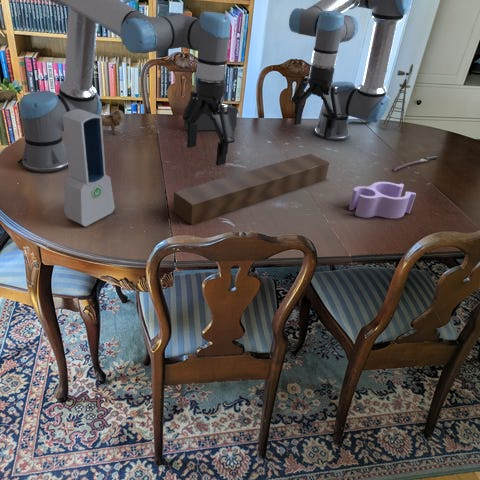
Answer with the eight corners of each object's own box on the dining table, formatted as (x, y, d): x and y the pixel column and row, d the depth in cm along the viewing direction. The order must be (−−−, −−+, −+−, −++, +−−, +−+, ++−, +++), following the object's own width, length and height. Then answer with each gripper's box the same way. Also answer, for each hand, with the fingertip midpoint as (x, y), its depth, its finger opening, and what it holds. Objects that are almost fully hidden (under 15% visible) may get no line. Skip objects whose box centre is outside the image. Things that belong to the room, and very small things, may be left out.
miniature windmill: (401, 131, 224) (420, 67, 208) (384, 129, 225) (401, 64, 209) (400, 126, 231) (418, 63, 215) (383, 123, 232) (399, 60, 216)
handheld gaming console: (234, 127, 207) (236, 105, 202) (236, 129, 205) (238, 107, 200) (183, 128, 200) (184, 105, 195) (185, 131, 198) (185, 107, 192)
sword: (433, 155, 200) (434, 153, 199) (439, 158, 198) (440, 155, 197) (387, 170, 184) (387, 168, 183) (393, 173, 182) (394, 171, 181)
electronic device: (82, 228, 128) (71, 122, 112) (63, 219, 131) (50, 114, 115) (115, 211, 137) (109, 111, 121) (97, 203, 140) (89, 104, 124)
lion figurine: (123, 129, 193) (122, 108, 188) (125, 134, 189) (124, 112, 184) (86, 130, 188) (84, 108, 183) (87, 135, 184) (85, 113, 179)
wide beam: (191, 225, 135) (192, 204, 131) (173, 211, 140) (173, 191, 137) (325, 179, 170) (329, 162, 166) (307, 170, 176) (310, 153, 172)
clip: (362, 221, 145) (367, 202, 142) (342, 202, 155) (347, 184, 151) (415, 216, 152) (421, 197, 148) (393, 198, 161) (398, 180, 158)
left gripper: (253, 91, 115) (244, 169, 127) (194, 65, 130) (190, 137, 142) (230, 94, 111) (223, 175, 123) (171, 67, 126) (169, 141, 137)
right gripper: (362, 74, 141) (347, 140, 153) (302, 55, 156) (293, 117, 168) (346, 77, 137) (332, 144, 149) (286, 57, 152) (278, 120, 164)
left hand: (205, 155), depth 132 cm, fingers open, 13 cm apart
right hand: (311, 130), depth 159 cm, fingers open, 13 cm apart
